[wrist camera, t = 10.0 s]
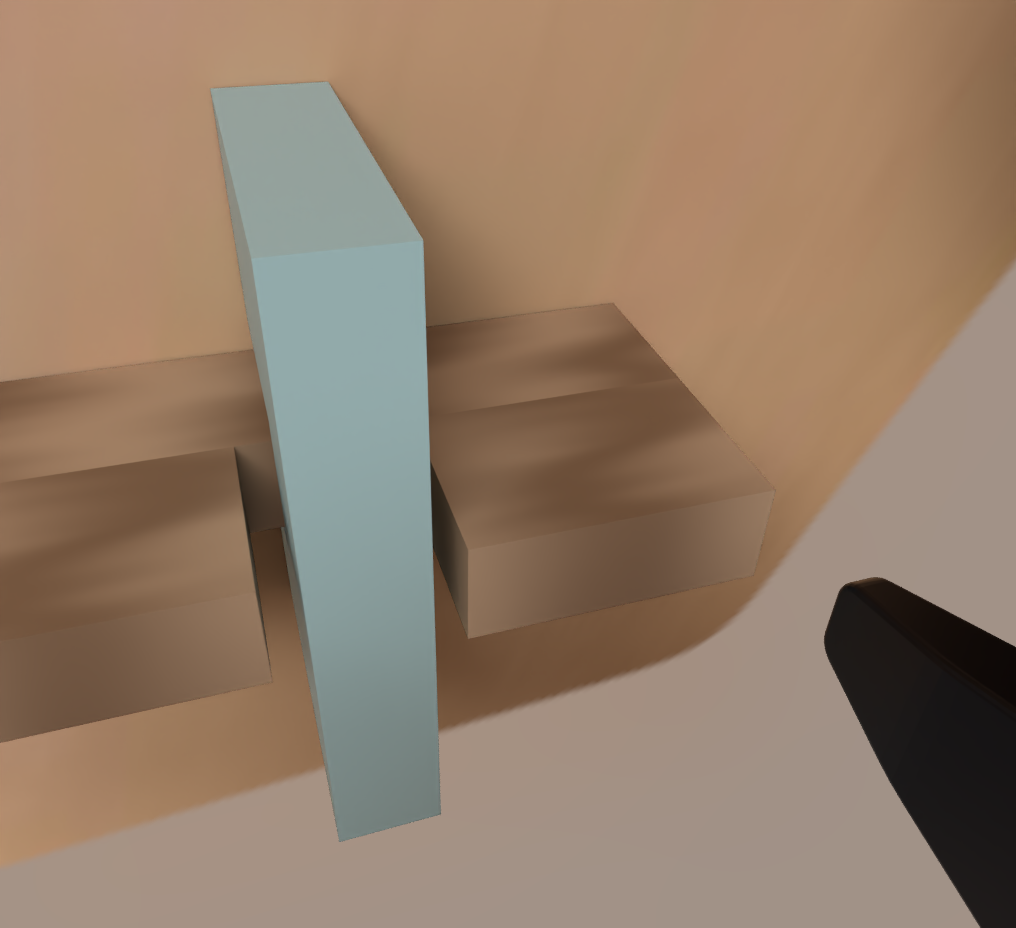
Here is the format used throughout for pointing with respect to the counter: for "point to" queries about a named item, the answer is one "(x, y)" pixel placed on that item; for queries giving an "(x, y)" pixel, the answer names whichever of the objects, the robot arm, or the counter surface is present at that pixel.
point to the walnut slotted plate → (257, 506)
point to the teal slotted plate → (343, 434)
